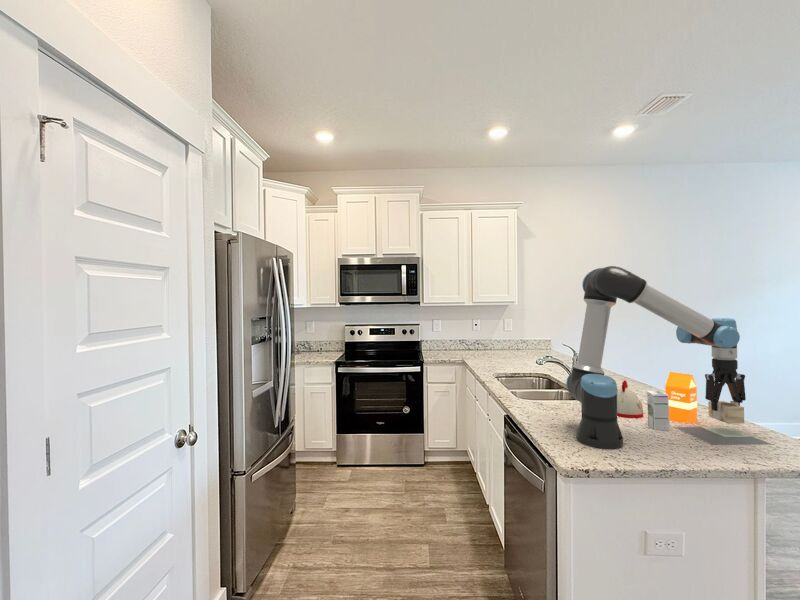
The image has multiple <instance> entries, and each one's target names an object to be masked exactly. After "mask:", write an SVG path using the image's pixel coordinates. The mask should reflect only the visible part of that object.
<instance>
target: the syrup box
mask: <svg viewBox="0 0 800 600" xmlns="http://www.w3.org/2000/svg"><path fill="white" fill-rule="evenodd" d="M646 393H647V394H646V398H647V399H646V401H647V403H646V404H647V425H648V427H649V428H651V429H652V430H655V431H671V430H670V420H669V399H668V394H666V393H665V392H664V391H661V390H659V391H658V390H647V391H646Z"/></svg>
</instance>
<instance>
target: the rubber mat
mask: <svg viewBox="0 0 800 600" xmlns="http://www.w3.org/2000/svg"><path fill="white" fill-rule="evenodd" d="M673 428H675V429H677V430H679V431H681V432H683V433H685V434H688V435H690V436H692V437H694V438H697V439H698V440H701V441H703V442H706V443H707V444H710V445H713V446H731V445H733V446H734V445H736V446H737V445H738V446H739V445H740V446H742V445H744V446H745V445H748V446H749V445H754V446H755V445H772V443H771V442H767V441H765V440H763V439H760V438H757V437H755V436H752V435H750V434H748V433H744V432H742V431H739V430H736V429H733V428H731V427H728V426H674V427H673Z"/></svg>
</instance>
